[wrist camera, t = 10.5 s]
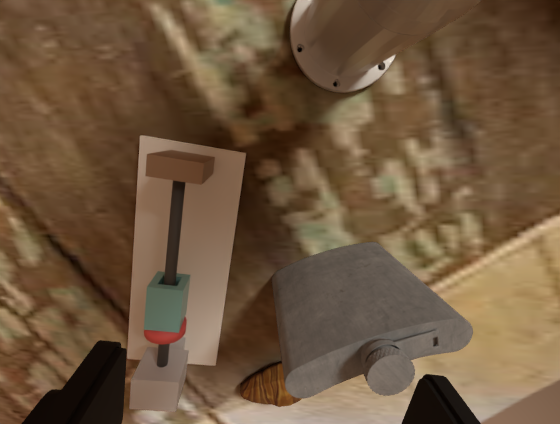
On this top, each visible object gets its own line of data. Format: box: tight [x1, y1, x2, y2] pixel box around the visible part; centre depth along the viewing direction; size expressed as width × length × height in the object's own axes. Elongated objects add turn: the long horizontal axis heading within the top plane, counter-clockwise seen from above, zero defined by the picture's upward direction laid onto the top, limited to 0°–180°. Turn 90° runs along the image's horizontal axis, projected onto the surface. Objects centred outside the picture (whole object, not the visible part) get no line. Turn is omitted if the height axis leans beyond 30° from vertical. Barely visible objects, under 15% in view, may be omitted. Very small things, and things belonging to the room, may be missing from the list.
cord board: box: [127, 135, 246, 412], centre depth 34 cm, size 30×12×10 cm, turn 170°
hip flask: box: [272, 242, 473, 398], centre depth 31 cm, size 16×4×20 cm, turn 106°
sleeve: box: [144, 271, 190, 333], centre depth 32 cm, size 5×4×4 cm
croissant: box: [240, 362, 302, 407], centre depth 42 cm, size 14×7×5 cm, turn 106°
